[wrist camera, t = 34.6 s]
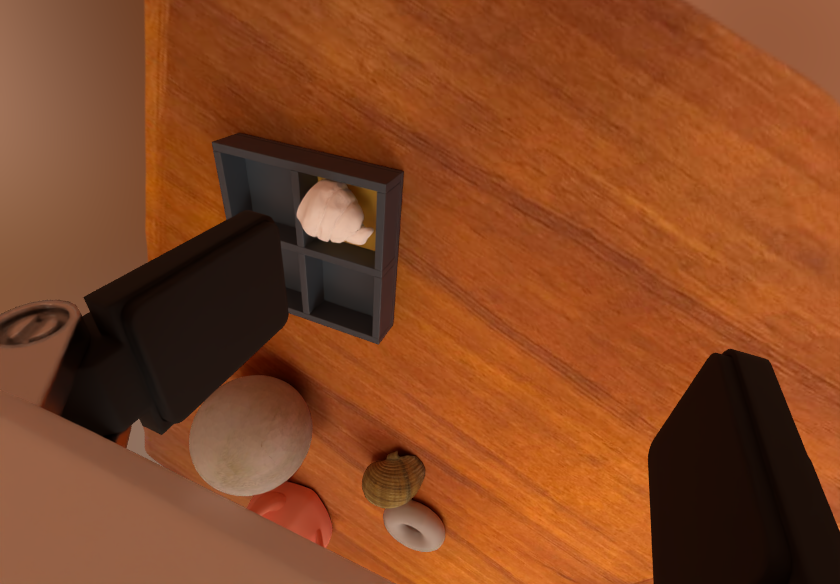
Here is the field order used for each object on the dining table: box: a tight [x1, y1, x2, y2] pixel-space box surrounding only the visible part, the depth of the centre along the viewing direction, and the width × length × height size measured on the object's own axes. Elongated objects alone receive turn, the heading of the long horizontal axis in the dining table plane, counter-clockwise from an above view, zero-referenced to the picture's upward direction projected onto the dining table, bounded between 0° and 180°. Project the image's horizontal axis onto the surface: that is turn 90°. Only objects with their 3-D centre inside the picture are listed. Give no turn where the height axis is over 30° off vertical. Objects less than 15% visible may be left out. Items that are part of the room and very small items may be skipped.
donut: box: [383, 500, 445, 552], centre depth 66 cm, size 10×3×10 cm
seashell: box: [362, 451, 425, 508], centre depth 60 cm, size 10×7×8 cm
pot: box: [247, 481, 332, 548], centre depth 76 cm, size 18×17×12 cm
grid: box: [212, 133, 404, 344], centre depth 43 cm, size 17×17×4 cm
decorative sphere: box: [189, 375, 312, 496], centre depth 57 cm, size 15×15×15 cm
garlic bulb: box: [297, 179, 374, 245], centre depth 38 cm, size 6×6×5 cm
